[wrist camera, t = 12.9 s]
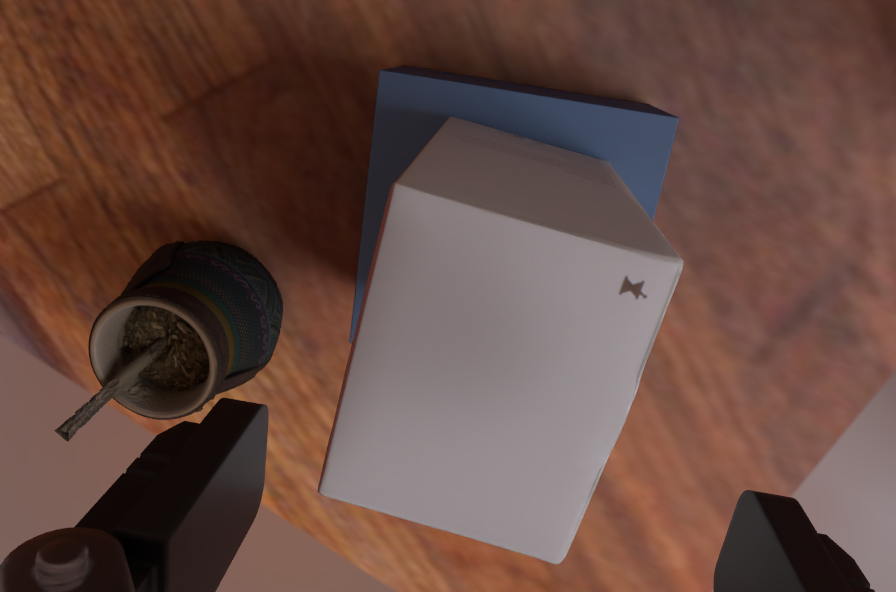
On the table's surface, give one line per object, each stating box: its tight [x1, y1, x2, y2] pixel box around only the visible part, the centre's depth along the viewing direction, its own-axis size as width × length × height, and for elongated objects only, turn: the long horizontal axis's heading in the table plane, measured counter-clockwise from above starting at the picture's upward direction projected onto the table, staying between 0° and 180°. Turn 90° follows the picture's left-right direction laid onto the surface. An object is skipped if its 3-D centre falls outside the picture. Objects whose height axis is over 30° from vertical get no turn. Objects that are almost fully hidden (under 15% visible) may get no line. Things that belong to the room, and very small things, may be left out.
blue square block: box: [350, 65, 679, 343], centre depth 31 cm, size 11×11×6 cm
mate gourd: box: [55, 241, 283, 441], centre depth 32 cm, size 7×8×10 cm
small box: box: [318, 117, 683, 564], centre depth 22 cm, size 8×6×13 cm
